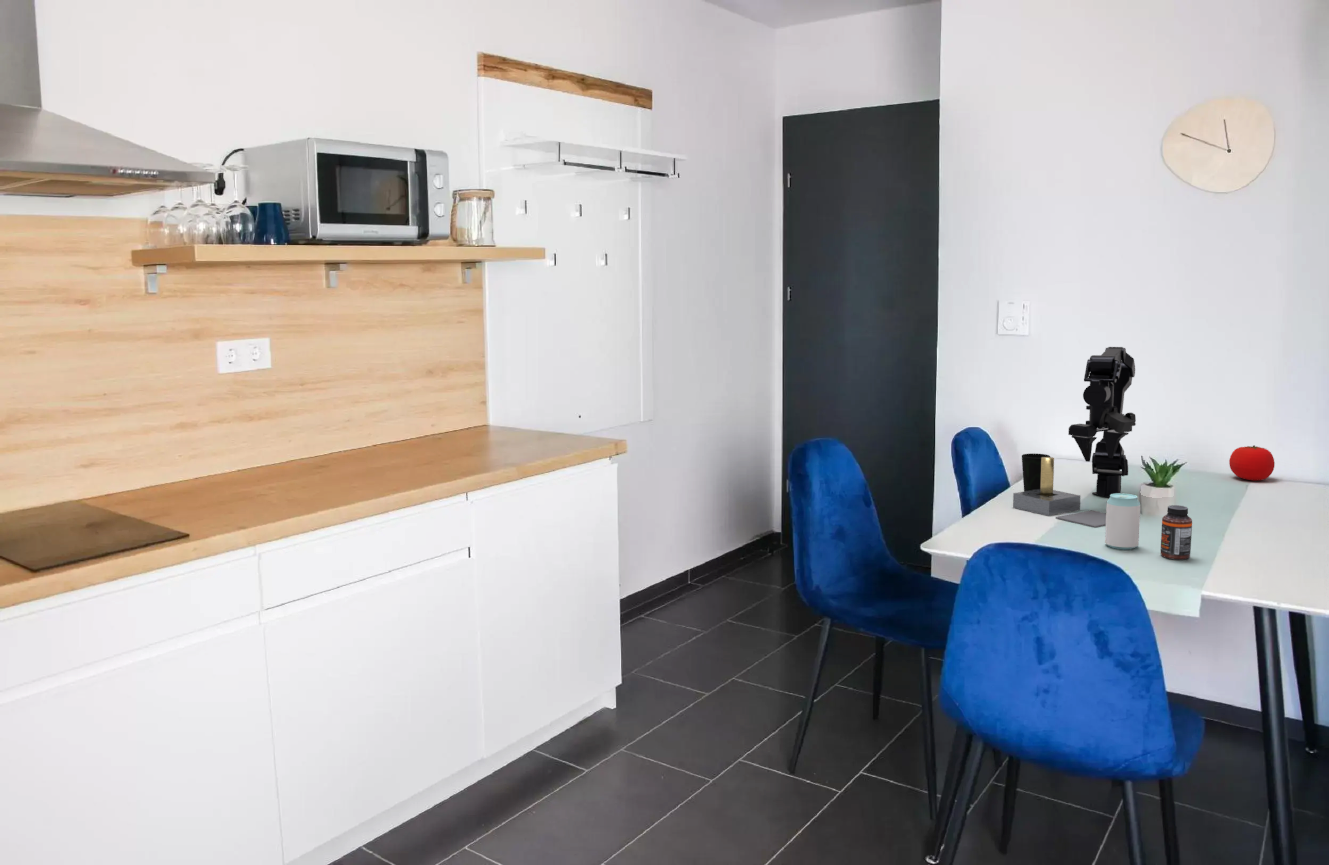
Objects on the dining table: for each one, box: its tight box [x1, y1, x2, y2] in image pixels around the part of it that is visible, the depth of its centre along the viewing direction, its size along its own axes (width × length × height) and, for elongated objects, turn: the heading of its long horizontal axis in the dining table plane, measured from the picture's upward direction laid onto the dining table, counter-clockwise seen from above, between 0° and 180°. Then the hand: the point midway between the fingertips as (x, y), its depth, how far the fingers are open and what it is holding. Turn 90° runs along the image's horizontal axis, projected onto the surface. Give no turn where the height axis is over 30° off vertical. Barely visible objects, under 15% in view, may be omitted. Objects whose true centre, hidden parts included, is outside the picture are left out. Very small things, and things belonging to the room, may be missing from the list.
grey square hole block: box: [1012, 489, 1081, 517], centre depth 269 cm, size 12×12×4 cm
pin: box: [1040, 456, 1055, 497], centre depth 268 cm, size 3×3×14 cm
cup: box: [1021, 453, 1051, 492], centre depth 284 cm, size 8×8×12 cm
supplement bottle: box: [1160, 504, 1193, 561], centre depth 220 cm, size 6×6×11 cm
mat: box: [1055, 509, 1106, 529], centre depth 256 cm, size 14×12×1 cm
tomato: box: [1228, 445, 1276, 482], centre depth 301 cm, size 12×12×10 cm
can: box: [1104, 492, 1141, 550], centre depth 229 cm, size 7×7×12 cm
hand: (1099, 459), depth 268 cm, fingers open, 9 cm apart
